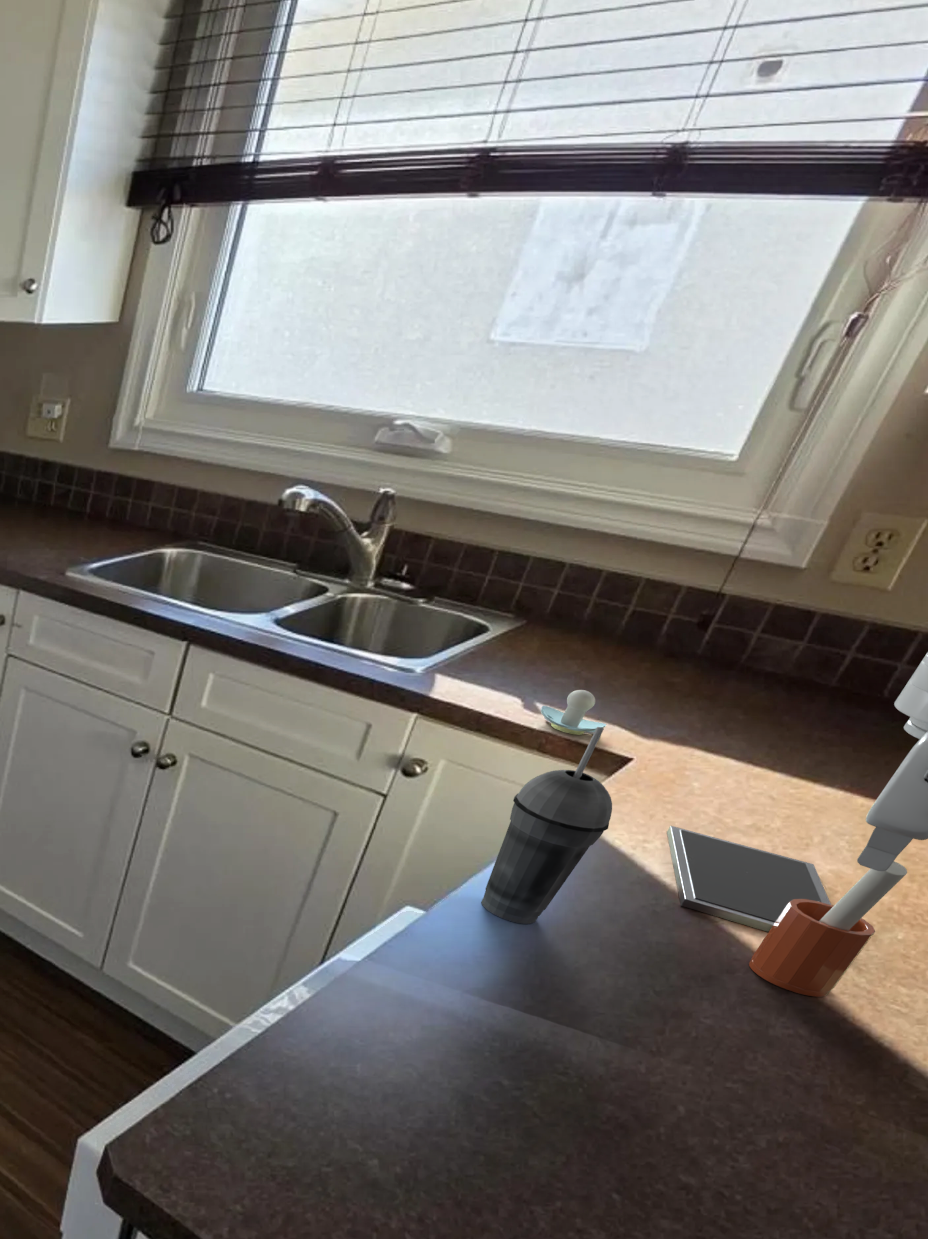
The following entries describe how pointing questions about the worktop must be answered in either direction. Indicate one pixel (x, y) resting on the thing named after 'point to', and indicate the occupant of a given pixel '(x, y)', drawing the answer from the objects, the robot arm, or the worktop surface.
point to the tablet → (739, 879)
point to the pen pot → (808, 949)
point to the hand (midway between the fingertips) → (883, 850)
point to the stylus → (863, 896)
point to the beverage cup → (546, 839)
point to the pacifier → (573, 714)
